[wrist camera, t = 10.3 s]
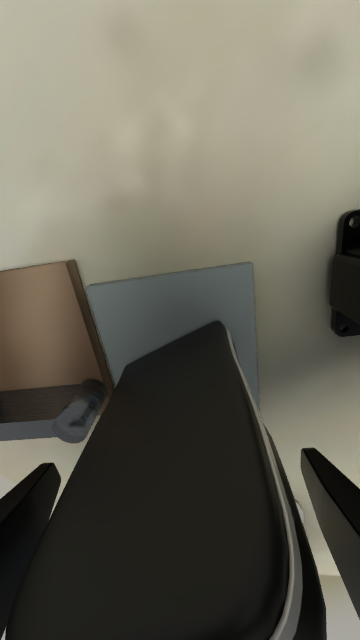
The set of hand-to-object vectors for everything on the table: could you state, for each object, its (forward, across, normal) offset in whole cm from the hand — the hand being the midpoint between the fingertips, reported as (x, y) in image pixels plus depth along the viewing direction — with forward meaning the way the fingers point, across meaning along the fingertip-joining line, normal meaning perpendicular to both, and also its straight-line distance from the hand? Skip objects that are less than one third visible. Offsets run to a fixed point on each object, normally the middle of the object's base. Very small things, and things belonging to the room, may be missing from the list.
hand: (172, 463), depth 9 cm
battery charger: (+7, 0, 0) cm, 7 cm away
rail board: (+7, +10, -2) cm, 13 cm away
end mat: (+7, 0, 0) cm, 7 cm away
